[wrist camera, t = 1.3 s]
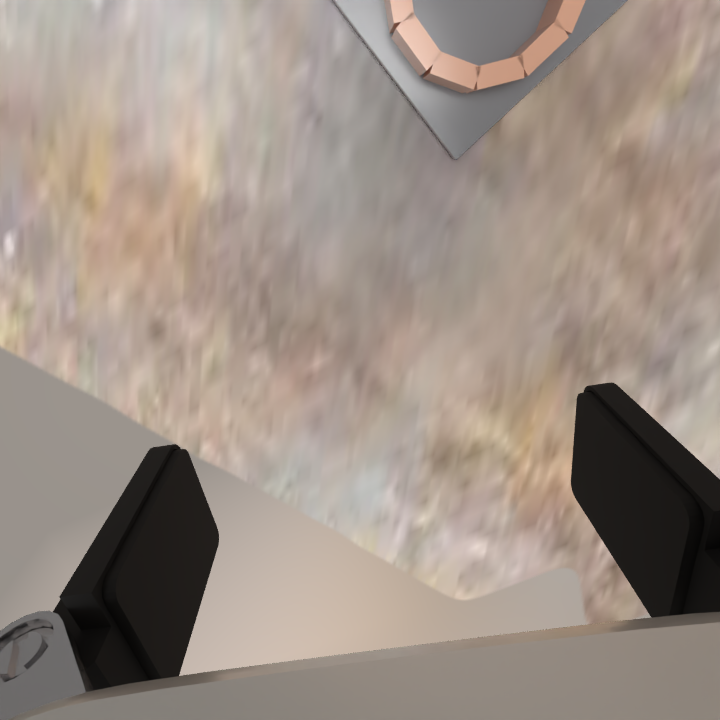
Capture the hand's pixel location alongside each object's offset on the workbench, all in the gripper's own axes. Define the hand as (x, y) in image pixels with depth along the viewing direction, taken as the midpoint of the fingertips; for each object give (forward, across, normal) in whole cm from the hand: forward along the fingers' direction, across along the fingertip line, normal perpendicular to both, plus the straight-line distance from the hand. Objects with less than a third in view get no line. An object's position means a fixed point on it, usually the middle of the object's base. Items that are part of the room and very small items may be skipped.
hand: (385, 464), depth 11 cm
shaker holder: (+27, -10, -14) cm, 32 cm away
